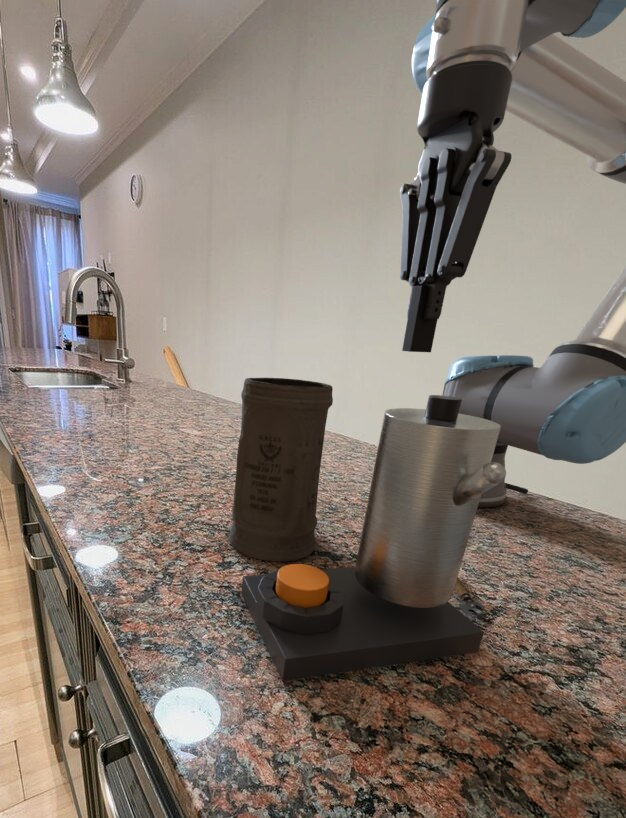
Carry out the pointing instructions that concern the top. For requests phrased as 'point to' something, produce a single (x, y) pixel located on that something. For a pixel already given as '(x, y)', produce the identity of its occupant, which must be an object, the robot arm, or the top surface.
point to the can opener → (467, 601)
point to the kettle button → (302, 585)
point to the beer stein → (279, 467)
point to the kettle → (425, 501)
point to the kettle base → (352, 628)
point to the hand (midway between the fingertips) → (416, 351)
